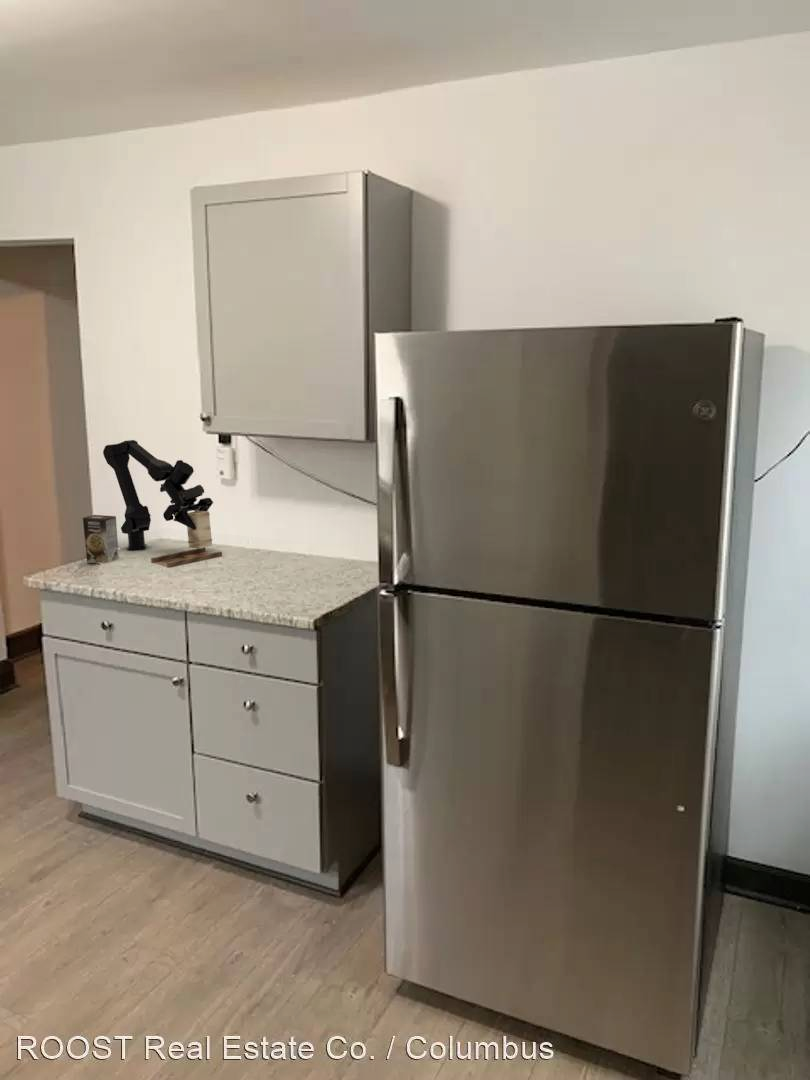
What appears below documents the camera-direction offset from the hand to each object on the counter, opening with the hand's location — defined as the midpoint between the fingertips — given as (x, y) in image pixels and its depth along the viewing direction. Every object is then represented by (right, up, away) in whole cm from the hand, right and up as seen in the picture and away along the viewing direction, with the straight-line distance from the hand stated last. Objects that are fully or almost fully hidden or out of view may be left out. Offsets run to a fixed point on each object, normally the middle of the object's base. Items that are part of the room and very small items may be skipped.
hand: (201, 527), depth 288 cm
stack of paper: (-1, -7, +2) cm, 7 cm away
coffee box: (-34, -12, 0) cm, 36 cm away
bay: (-5, -12, -1) cm, 13 cm away
